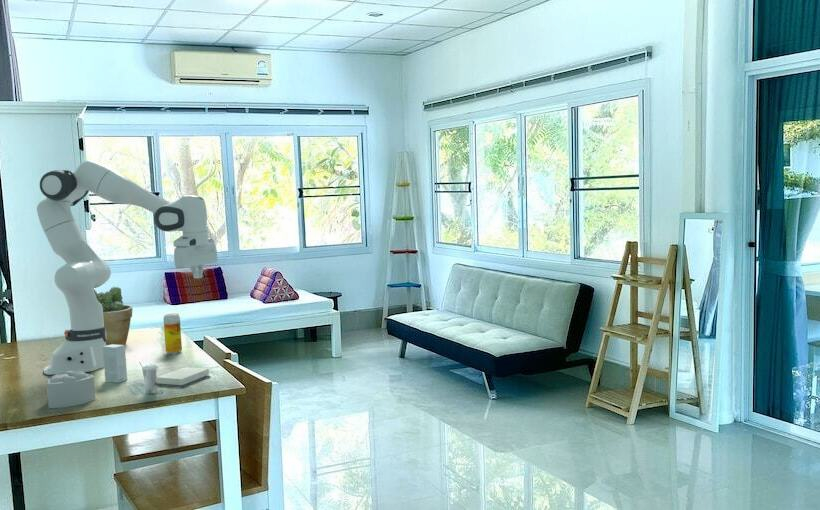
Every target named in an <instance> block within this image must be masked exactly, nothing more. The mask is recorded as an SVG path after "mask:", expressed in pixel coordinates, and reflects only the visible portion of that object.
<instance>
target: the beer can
mask: <svg viewBox="0 0 820 510" xmlns="http://www.w3.org/2000/svg"><path fill="white" fill-rule="evenodd" d="M163 329H164V330H163V331H164V332H163V333H164V345H165V352H166V354H169V355H175V354H180V353H181V352H182V351H183V343H182V329H181V317H180V315H179V313H167V314H166V313H165V314H164V316H163Z"/></svg>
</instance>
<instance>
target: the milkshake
mask: <svg viewBox="0 0 820 510" xmlns="http://www.w3.org/2000/svg"><path fill="white" fill-rule="evenodd" d="M139 365H140V366H141V369H142V375H143V379H144V380H143V381H144V388H145V393H146V394H147V395H153V394H156V393H158V386H157V377H158V365H157V364H156V363H154V362H153V363H148V364H147V363H146V364H145V365H142V363H141V362H140V361H139Z"/></svg>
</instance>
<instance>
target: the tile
mask: <svg viewBox="0 0 820 510" xmlns="http://www.w3.org/2000/svg"><path fill="white" fill-rule="evenodd" d="M204 376H210V369H209V368H202V367H187V366H185V367H181V368H178V369H176V370H172V371H170V372H168V373H165V374H162V375H159V376H157V383H159V384H169V385H184V384H187V383H189V382H192V381H194V380H197V379H199V378H202V377H204Z"/></svg>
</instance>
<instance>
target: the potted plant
mask: <svg viewBox="0 0 820 510" xmlns="http://www.w3.org/2000/svg"><path fill="white" fill-rule="evenodd" d="M94 292H95V295H96V298H97V300H98V302H100V303H101V305H102V307H103V319H104V326H105V329H106V338H107V339H106V346H107V345H111V344H115V345H125V346H126V344H127V341H128V338H129V332H130V328H131V318H132V316H133V306H132V305H128V304H127V305H126V304H124V301H123V295H122V288H121V287H119V286H112V287H111V288H110V289H109V291H108V290H107V291H104V292H102V291H101V292H98V293H97V291H96V289H94Z"/></svg>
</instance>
